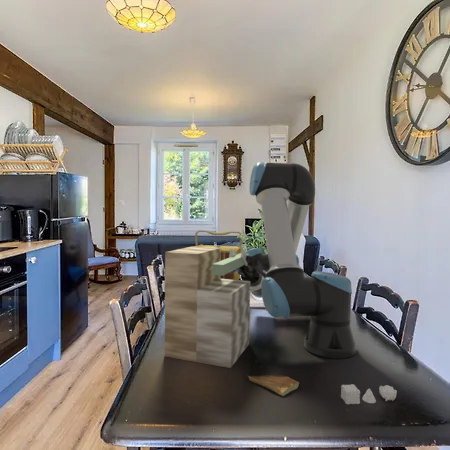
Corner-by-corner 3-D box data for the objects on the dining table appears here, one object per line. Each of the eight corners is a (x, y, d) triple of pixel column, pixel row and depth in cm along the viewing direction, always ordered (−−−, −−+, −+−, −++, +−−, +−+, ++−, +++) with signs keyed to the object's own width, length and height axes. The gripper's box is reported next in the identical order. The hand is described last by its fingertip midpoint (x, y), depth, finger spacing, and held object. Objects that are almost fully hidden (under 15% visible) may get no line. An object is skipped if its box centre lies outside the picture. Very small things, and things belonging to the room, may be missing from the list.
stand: (191, 335, 116) (192, 246, 115) (249, 344, 109) (250, 249, 108) (164, 356, 99) (165, 252, 98) (230, 368, 92) (232, 256, 91)
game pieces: (346, 406, 76) (347, 392, 75) (340, 398, 79) (340, 384, 79) (398, 403, 77) (399, 389, 76) (390, 395, 80) (390, 382, 80)
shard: (247, 381, 86) (247, 374, 86) (267, 372, 91) (267, 365, 91) (281, 399, 78) (282, 391, 78) (301, 387, 83) (301, 380, 83)
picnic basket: (245, 278, 217) (246, 230, 215) (237, 286, 192) (238, 232, 190) (200, 275, 223) (201, 229, 222) (187, 283, 198) (188, 231, 197)
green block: (240, 261, 121) (240, 253, 121) (249, 262, 120) (249, 253, 120) (212, 274, 97) (212, 264, 97) (222, 275, 96) (223, 264, 96)
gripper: (272, 289, 127) (259, 265, 107) (230, 285, 133) (210, 262, 113) (275, 270, 130) (262, 243, 111) (234, 266, 136) (215, 241, 116)
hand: (236, 253), depth 112 cm, fingers closed on green block, 3 cm apart
